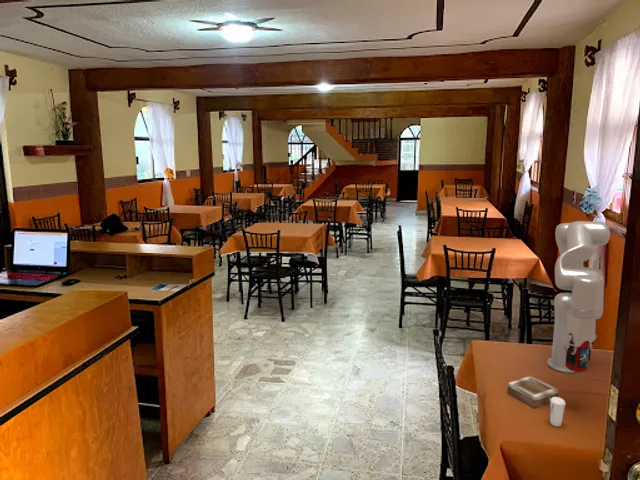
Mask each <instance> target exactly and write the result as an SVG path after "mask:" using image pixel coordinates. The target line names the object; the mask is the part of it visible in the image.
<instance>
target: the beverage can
mask: <svg viewBox="0 0 640 480" xmlns="http://www.w3.org/2000/svg"><path fill="white" fill-rule="evenodd" d="M571 344H573V345H574V343H573V342H571ZM589 347H590V342H589V341H585V342H584V343H583V344H582V345H581V346H579V347H578V348H577V350H576V353H575V354H576V364H575V365H574V366H573V365H571V364H569V363H567V362H565V366H566V367H567V368H568V369H569V370H571V371H574V372H575V373H583V372H586V371H588V364H589V361H588V356H589ZM571 348H572V350H573V348H574V346H571ZM566 355H567V352H566Z"/></svg>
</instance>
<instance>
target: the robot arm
mask: <svg viewBox="0 0 640 480" xmlns="http://www.w3.org/2000/svg"><path fill="white" fill-rule="evenodd" d="M554 235H555V242H556V246H557V248H558V252H559V256H558V257H557V259H556V262H555V265H554V281H555V283H554V284H555V285H556V287H557V288H559V289H560V290H564V291H572V292H560V293H558V294H557V295H555V297H554V299H553V300H554V301H553V306H554V307H553V308H554V326H553V337H552V338H553V339H552V347H551V357H549V358H548V359H547V361H546V364H547V366H548V367H549V368H551V369H552V370H554V371H557V372H560V373H561V372H562V373H568V374H569V373H570V374H573V373H576V372H574V371H571V370H569V369H568V368H567V367H566V366H565V362H567V363H569V364H571V365H573V366H574V365H575V364H576V354H575V353H576V350H577V348H578V347H579V346H581V345H582V344H583V343H584V342H585V341H589V342H590V347H589V356H588V362H589V361H590V360H591V355H592V354H591V353H592V350H593V345H594V343H595V340H596V339H597V334H596V326H597V325H596V322H597V321H596V320H599V319H601V317H602V316H603V312H604V293H605V292H604V291H605V277H604V273H603V271H602V270H600V269H598V268H595V267H585V266H584V262H587V261H588V260H590V259H591V258H592V257H593V255H594V246H604V245H607V244H608V243H609V240H610V238H611V229H610V227H609V225H608V224H607V223H605V222H604V221H603V222H602V221H588V220H587V221H586V220H577V221H572V222H564V223H563V222H562V223H559V224H558V225H556V228H555V234H554ZM571 342H573V343H574V345H573V344H571ZM571 346H574V348H573V350H572V348H571ZM566 352H567V355H566Z"/></svg>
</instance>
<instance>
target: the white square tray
mask: <svg viewBox="0 0 640 480" xmlns="http://www.w3.org/2000/svg"><path fill="white" fill-rule="evenodd" d="M507 394H508V395H510V396H511V397H513V398H515V399H516V400H518V401H519V402H522V403H524V404H526V405H527V406H529V407H530V408H532V409H538V408H540V407H542V406H545V405H548V404H550V399H551V398H553V397H559V389H558V388H556V387H554V386H552V385H551V384H548V383H546V382H543V381H542V380H540V379H538V378H535V377H534V376H532V375H529V376H526V377H522V378H519V379H516V380H514V381H510V382H508V384H507ZM549 397H550V398H549Z"/></svg>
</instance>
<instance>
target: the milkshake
mask: <svg viewBox="0 0 640 480" xmlns="http://www.w3.org/2000/svg"><path fill="white" fill-rule="evenodd" d="M549 398H550V397H549ZM549 408H550V409H549V410H550V413H549V414H550V417H549V419H550V421H549V422H550V424H551V425H552V426H554V427H561V426H562V422H563V416H564V412H565V408H566V401H565V400H564V399H563V398H562V397H560V396H558V397H553V398H551V399H550V403H549Z"/></svg>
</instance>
